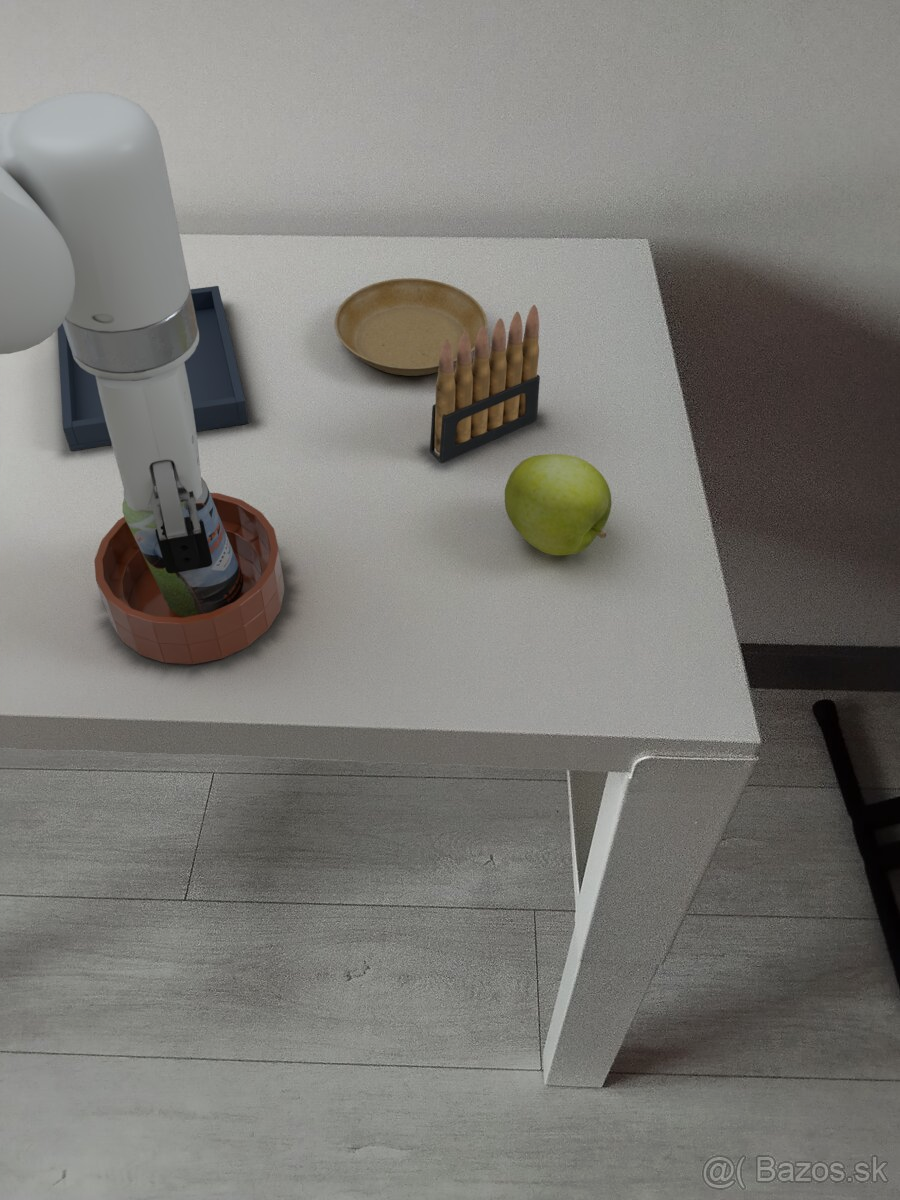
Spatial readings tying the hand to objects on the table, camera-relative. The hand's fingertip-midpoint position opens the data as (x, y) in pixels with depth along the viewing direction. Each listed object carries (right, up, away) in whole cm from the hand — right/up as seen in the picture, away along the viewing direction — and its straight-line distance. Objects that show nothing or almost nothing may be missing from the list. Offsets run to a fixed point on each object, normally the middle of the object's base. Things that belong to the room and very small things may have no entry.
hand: (184, 531), depth 75 cm
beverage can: (0, -5, +5) cm, 7 cm away
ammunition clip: (+22, +10, +19) cm, 31 cm away
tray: (-9, +16, +23) cm, 30 cm away
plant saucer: (+15, +20, +27) cm, 37 cm away
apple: (+28, 0, +10) cm, 30 cm away
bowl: (0, -5, +5) cm, 7 cm away
